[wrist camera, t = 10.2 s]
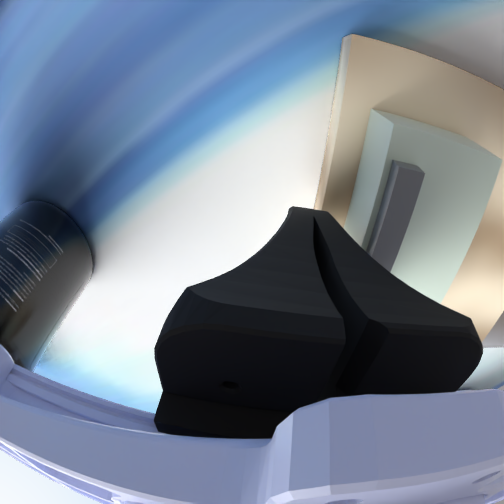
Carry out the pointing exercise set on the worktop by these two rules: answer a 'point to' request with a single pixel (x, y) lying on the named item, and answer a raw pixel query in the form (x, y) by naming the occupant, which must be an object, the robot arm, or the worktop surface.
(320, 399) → the robot arm
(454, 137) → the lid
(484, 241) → the housing
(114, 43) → the worktop surface
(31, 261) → the supplement bottle
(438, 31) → the worktop surface
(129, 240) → the worktop surface
